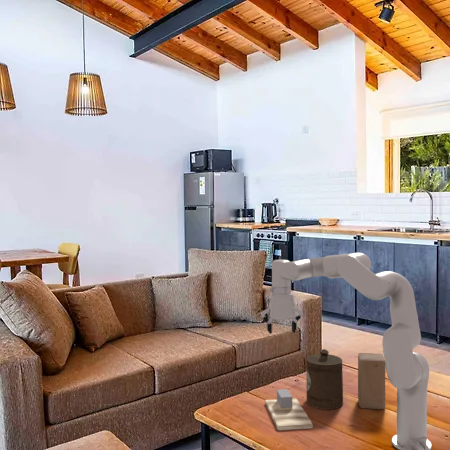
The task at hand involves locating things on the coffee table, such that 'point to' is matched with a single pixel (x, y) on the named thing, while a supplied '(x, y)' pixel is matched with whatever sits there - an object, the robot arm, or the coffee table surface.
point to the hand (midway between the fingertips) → (281, 332)
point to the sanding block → (284, 399)
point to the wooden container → (324, 381)
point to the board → (288, 416)
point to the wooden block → (371, 380)
